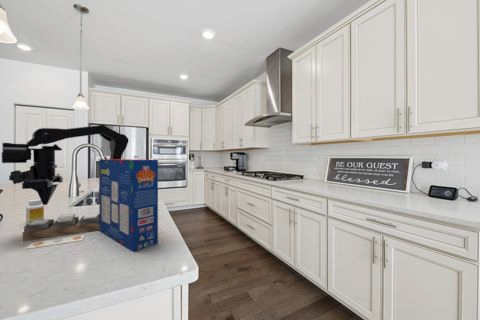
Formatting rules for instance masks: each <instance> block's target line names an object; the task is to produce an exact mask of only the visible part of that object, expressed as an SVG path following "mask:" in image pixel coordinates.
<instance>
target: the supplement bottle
mask: <svg viewBox="0 0 480 320" xmlns="http://www.w3.org/2000/svg"><path fill="white" fill-rule="evenodd" d="M44 207H45V205H43V204H42V201H41V199H40V198H39V199H31V200H28V205H27V206H26V209H25V211H26V214H25V217H26V220H25V221H26V225H27V224H29V223H31V222H33V221H36V220H45V216H44V215H45V208H44Z"/></svg>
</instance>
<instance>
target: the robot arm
mask: <svg viewBox="0 0 480 320" xmlns="http://www.w3.org/2000/svg"><path fill="white" fill-rule="evenodd" d="M94 135H99V136H100V137H102V138H103V139H104V140H106V141H108V142H109V150H110V156H109V159H123V158H122V157H123V154H124V152H125V150H126V148H127V147H128V144H129V138H128V136H127V135H125V134H123V133H119V132H118V131H116V130H114V129H112V128H109V127H108V126H106V125H105V124H98V125H90V126H80V127H70V128H57V127H41V128H38V129H36V130H35V131H34V132H32V135H31V136H32V137H31V139H30V140H29V141H26V143H11V142H2V148H1V149H2V152H1V163H2V164H27V161H31V160H32V155H33V165H30V167H29V170H25V171H21V170H19V169H18V170H13V171H11V172H10V175H8V180H9V181H12V183H13V185H16V184H21V186H22V187H21V189H22V190H28V189H30V190H34V191H35V192H37V194H38V197H39V199H41V201H42V203H41V204H43V205H44V206H47V205H48V204H49V202H50V201H51V198H52V196H53V194H54V192H55V190H56V189H57V187H58V186H59V184H58V183H60V184H61V183H63V181H64V180H63V179H64V178H63V176H62V175H56V168H58V165H57V164H56V151H58V152H59V151H60V152H61V151H62V150H63V149H62V147H60V146H58V144H53V143H56V142H59V141H62V140H66V139H73V138H79V137H81V138H82V137H87V136H94ZM48 144H49V145H48ZM50 144H53V145H50ZM39 145H41V147H40V148H35V147H37V146H39ZM33 147H34V148H33ZM32 153H33V154H32ZM54 183H57V184H54ZM96 196H97V197H99V192H98V194H97V195H96Z"/></svg>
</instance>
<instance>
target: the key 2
mask: <svg viewBox="0 0 480 320" xmlns="http://www.w3.org/2000/svg"><path fill="white" fill-rule="evenodd" d="M83 216H84V217H83ZM83 216H82V217H83V220H84V219H93V218H98V213H95V214H94V213H93V214H85V215H83Z"/></svg>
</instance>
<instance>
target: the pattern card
mask: <svg viewBox="0 0 480 320" xmlns="http://www.w3.org/2000/svg"><path fill="white" fill-rule="evenodd" d="M85 238H86V234H84V235H76V236H69V237H63V238H62V237H61V238H56V239H48V240H41V241H40V240H39V241H34V242H32V243H30V244H29V245H28V246H27V247H26V248H25V249H26V250H31V249H37V248H44V247H50V246H51V247H52V246H58V245H64V244H70V243H76V242H82V241H84V239H85Z"/></svg>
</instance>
